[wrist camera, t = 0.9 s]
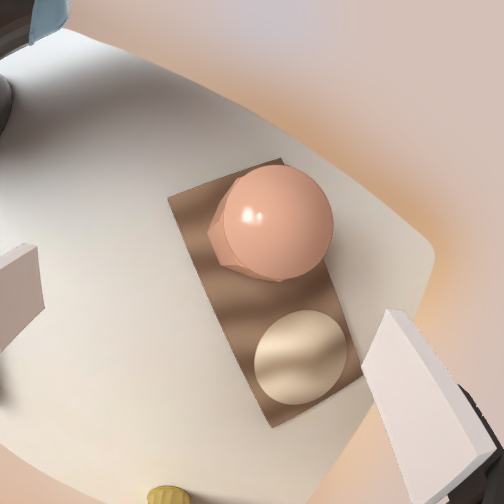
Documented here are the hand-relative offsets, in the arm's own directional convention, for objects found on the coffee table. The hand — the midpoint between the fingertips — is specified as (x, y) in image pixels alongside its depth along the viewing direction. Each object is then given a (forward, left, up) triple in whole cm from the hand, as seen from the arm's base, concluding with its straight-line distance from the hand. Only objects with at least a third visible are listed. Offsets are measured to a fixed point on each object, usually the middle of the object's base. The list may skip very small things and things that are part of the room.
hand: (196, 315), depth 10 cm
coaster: (+14, +9, -22) cm, 28 cm away
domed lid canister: (-2, +9, -22) cm, 24 cm away
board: (+6, +9, -23) cm, 26 cm away
